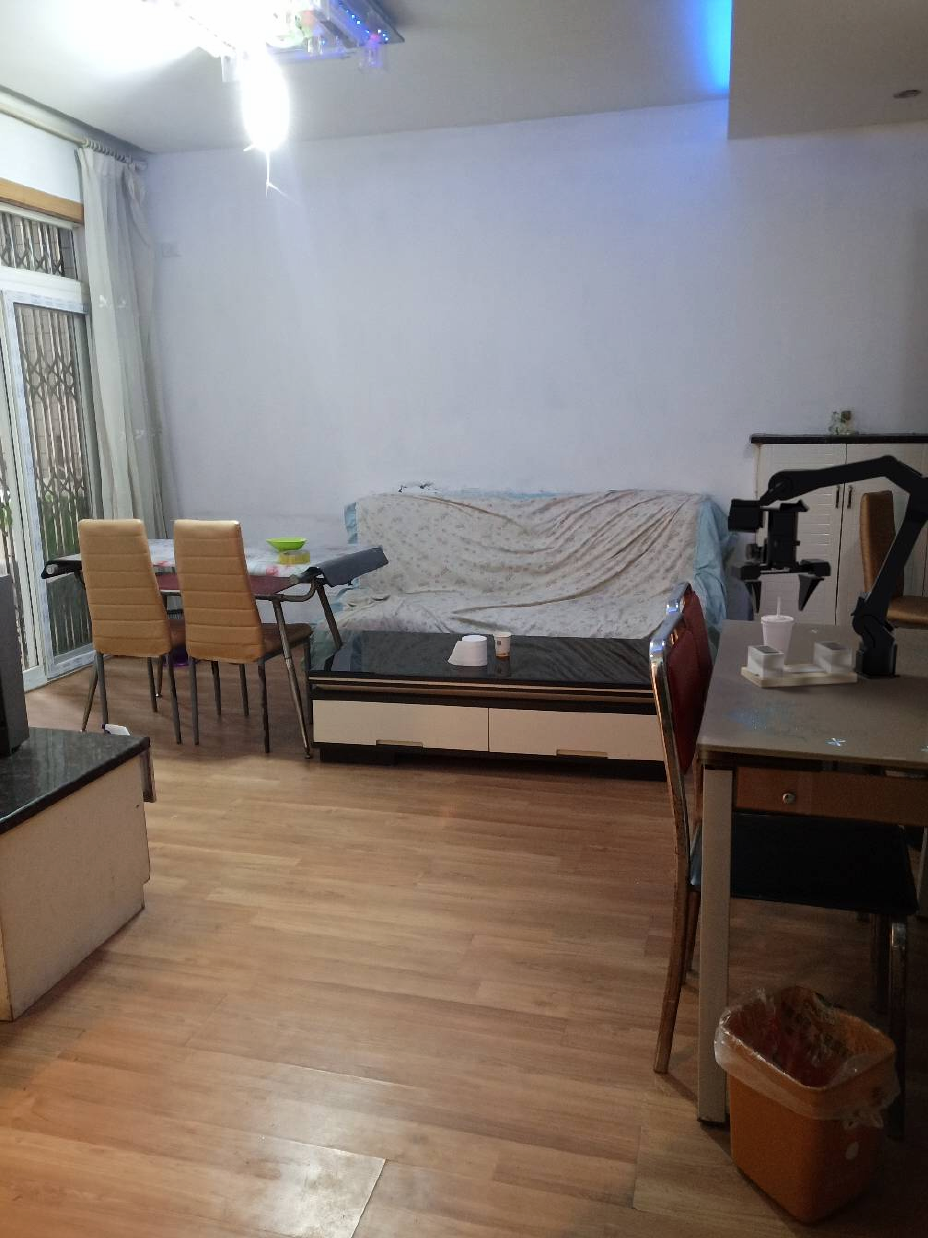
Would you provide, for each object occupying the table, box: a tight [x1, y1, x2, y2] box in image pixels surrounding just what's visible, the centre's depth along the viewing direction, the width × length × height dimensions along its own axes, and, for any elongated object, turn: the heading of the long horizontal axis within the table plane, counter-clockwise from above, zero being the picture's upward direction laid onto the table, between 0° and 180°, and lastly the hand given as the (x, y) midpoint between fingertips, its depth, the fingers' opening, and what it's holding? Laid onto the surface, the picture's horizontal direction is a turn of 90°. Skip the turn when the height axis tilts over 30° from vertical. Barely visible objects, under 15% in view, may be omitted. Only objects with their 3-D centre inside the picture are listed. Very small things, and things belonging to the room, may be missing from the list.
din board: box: [740, 641, 858, 689], centre depth 187 cm, size 19×9×6 cm, turn 97°
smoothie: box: [760, 596, 795, 665], centre depth 195 cm, size 6×6×14 cm
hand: (778, 611), depth 195 cm, fingers open, 9 cm apart
